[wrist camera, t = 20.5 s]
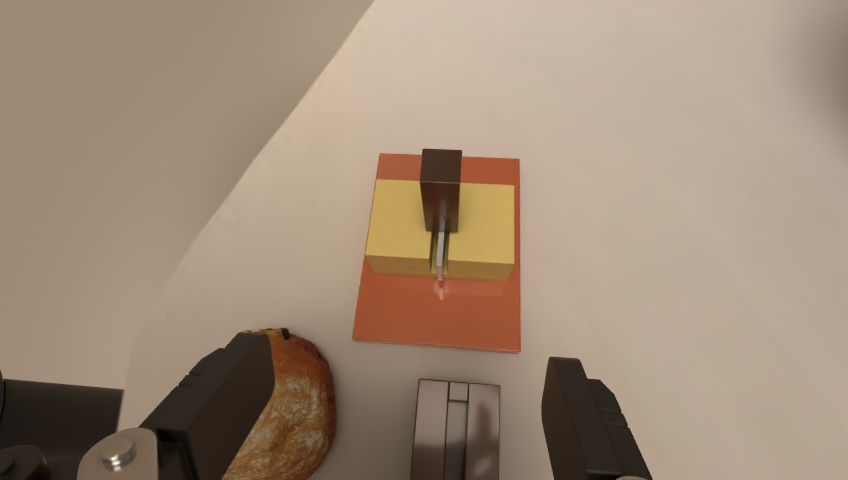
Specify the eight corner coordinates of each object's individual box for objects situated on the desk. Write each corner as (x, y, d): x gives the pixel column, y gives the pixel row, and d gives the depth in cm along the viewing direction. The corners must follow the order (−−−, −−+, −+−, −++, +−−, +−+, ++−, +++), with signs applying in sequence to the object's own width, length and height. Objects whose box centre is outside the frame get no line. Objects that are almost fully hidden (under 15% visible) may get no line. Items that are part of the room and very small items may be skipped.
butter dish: (518, 354, 30) (520, 351, 29) (354, 341, 31) (351, 338, 30) (518, 165, 36) (519, 158, 35) (381, 159, 37) (379, 152, 36)
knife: (455, 281, 30) (457, 224, 21) (425, 279, 30) (415, 222, 21) (460, 197, 33) (464, 114, 24) (432, 195, 33) (426, 113, 24)
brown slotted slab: (490, 564, 25) (497, 589, 21) (408, 554, 26) (401, 577, 22) (493, 389, 29) (500, 385, 25) (422, 383, 29) (418, 378, 26)
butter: (506, 282, 31) (514, 264, 27) (374, 273, 32) (364, 254, 28) (507, 210, 33) (514, 184, 30) (384, 204, 34) (376, 178, 30)
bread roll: (218, 448, 32) (137, 523, 24) (222, 315, 31) (141, 346, 23) (345, 461, 31) (305, 543, 23) (351, 324, 31) (313, 360, 23)
